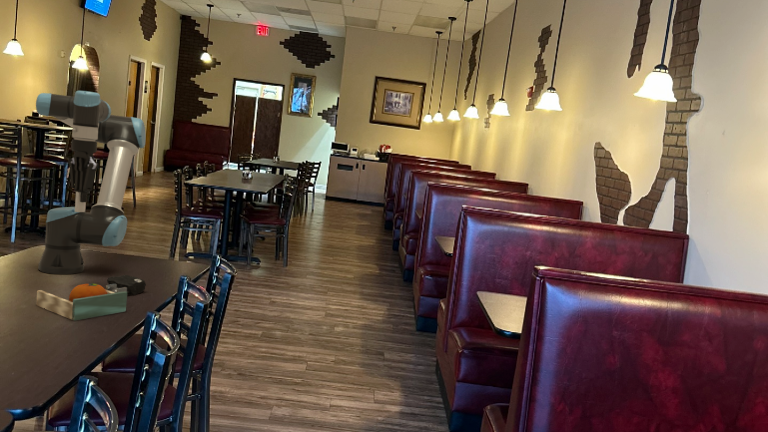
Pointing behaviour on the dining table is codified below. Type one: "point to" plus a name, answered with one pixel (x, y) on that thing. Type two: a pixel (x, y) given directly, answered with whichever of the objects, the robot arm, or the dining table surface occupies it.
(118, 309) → the bay
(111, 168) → the robot arm
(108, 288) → the dark grey bracket
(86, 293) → the fruit
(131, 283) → the rock
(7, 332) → the dining table surface
